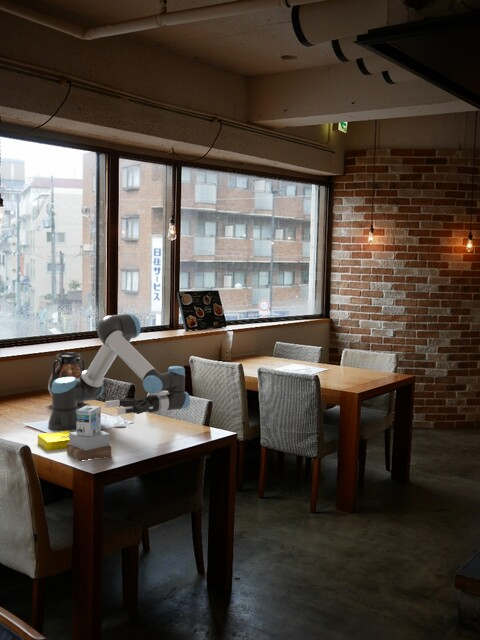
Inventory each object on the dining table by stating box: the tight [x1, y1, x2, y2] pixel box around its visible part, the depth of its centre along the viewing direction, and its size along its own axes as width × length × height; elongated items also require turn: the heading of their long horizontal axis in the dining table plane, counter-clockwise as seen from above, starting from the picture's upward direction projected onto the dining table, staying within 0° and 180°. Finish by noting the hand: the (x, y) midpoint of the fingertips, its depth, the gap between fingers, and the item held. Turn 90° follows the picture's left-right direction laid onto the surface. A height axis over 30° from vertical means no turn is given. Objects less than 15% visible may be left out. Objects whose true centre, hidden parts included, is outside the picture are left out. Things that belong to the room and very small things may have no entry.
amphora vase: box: [47, 352, 85, 407], centre depth 396 cm, size 22×22×28 cm
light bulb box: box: [75, 404, 102, 436], centre depth 304 cm, size 11×7×11 cm, turn 168°
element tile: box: [37, 430, 72, 452], centre depth 319 cm, size 15×15×5 cm
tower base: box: [66, 443, 112, 462], centre depth 305 cm, size 14×14×5 cm
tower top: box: [69, 430, 111, 450], centre depth 304 cm, size 12×12×5 cm
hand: (111, 407), depth 308 cm, fingers open, 13 cm apart
